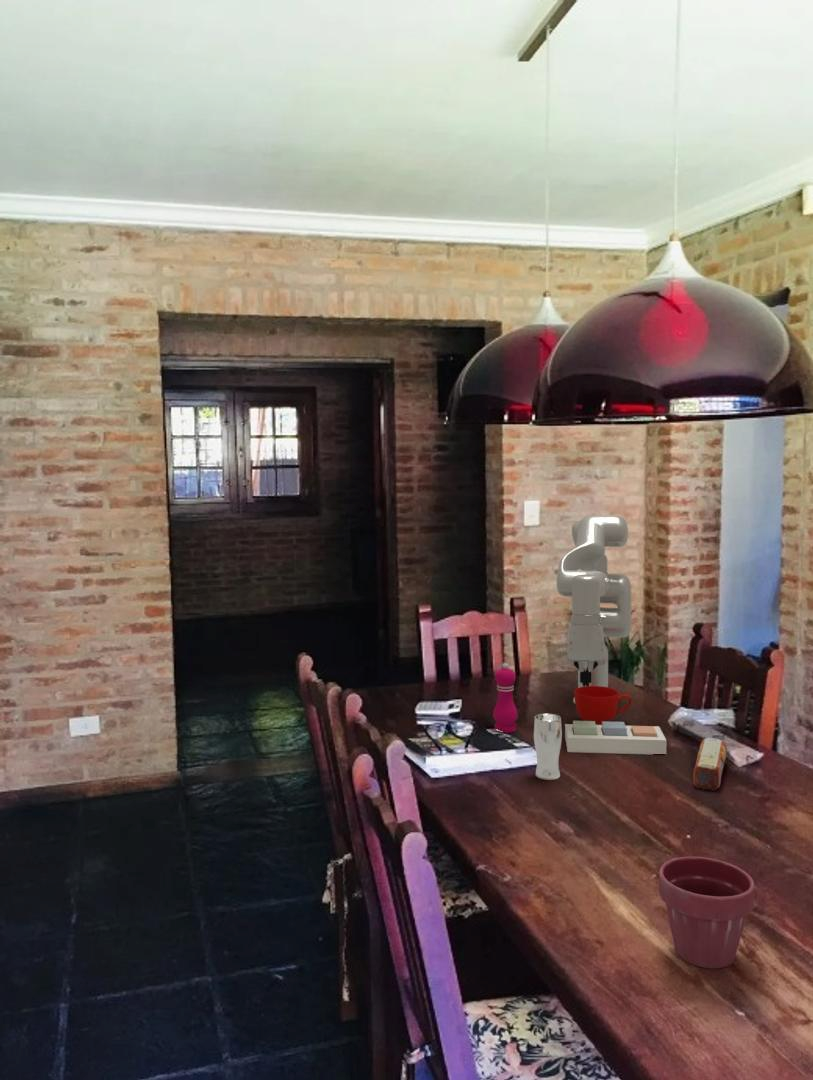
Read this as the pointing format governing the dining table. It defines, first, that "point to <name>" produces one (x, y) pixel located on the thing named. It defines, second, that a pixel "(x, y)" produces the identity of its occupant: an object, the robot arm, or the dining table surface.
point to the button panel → (615, 742)
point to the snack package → (709, 764)
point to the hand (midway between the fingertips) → (585, 685)
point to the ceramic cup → (598, 703)
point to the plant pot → (706, 908)
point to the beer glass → (547, 745)
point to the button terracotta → (643, 731)
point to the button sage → (584, 728)
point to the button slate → (614, 728)
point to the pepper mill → (505, 701)
